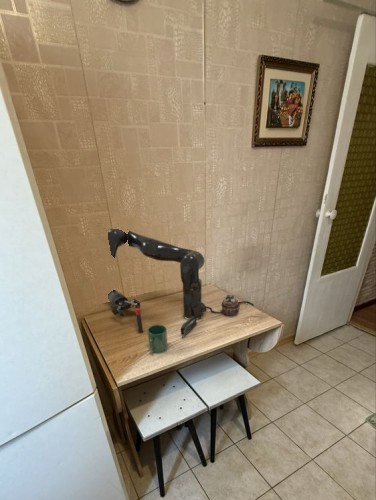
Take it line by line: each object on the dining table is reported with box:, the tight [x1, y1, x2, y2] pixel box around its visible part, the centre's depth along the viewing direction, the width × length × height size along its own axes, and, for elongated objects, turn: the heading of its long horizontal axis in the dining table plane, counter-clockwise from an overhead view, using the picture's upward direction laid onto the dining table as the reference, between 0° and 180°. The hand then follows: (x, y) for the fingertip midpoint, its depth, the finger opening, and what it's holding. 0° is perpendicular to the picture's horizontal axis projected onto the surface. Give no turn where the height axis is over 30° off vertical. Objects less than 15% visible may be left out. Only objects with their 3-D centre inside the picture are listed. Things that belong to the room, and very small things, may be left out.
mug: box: [147, 324, 169, 354], centre depth 120 cm, size 11×8×10 cm
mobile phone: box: [180, 316, 197, 339], centre depth 134 cm, size 5×3×15 cm
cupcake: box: [220, 294, 241, 318], centre depth 146 cm, size 10×10×10 cm
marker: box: [134, 307, 144, 334], centre depth 131 cm, size 2×2×12 cm
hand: (131, 312), depth 136 cm, fingers open, 8 cm apart
